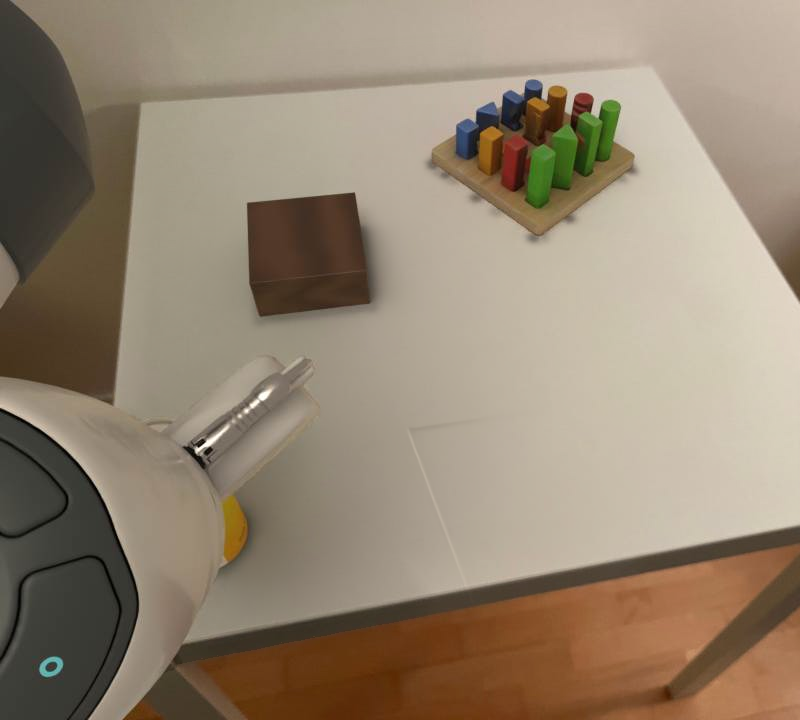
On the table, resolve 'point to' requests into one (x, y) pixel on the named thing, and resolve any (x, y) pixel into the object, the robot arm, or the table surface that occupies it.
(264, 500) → the table surface
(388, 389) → the table surface
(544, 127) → the peg board
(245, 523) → the orange beverage can
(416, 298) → the table surface
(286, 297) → the walnut block
